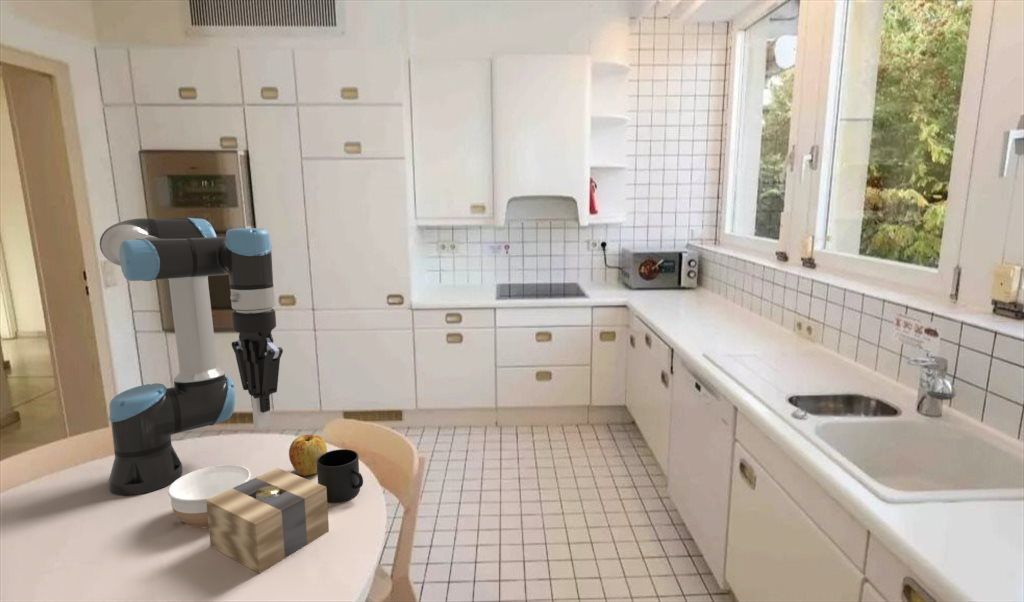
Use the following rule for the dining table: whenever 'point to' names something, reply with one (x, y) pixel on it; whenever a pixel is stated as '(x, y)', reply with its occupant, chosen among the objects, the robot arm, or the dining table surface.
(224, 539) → the socket block
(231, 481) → the bowl
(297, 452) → the apple
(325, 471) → the mug
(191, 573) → the dining table surface
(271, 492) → the peg
